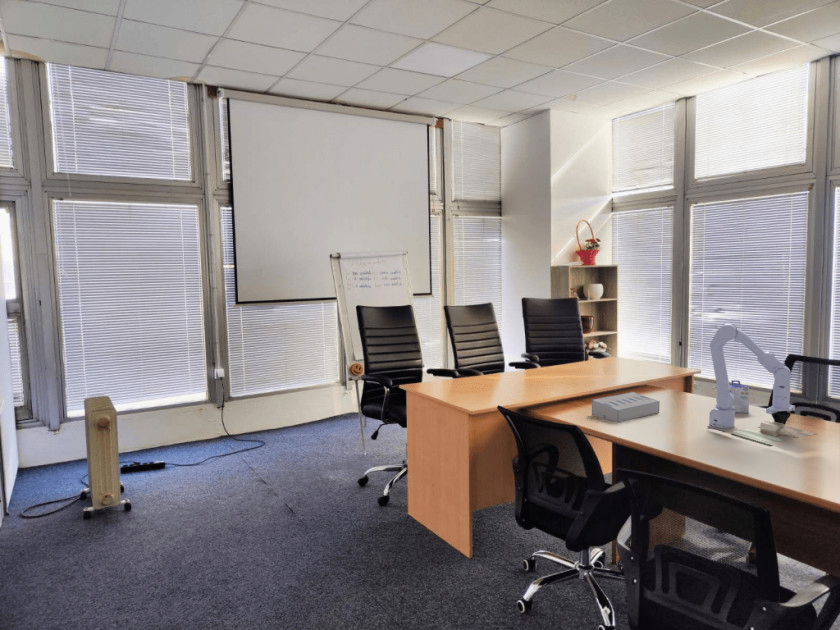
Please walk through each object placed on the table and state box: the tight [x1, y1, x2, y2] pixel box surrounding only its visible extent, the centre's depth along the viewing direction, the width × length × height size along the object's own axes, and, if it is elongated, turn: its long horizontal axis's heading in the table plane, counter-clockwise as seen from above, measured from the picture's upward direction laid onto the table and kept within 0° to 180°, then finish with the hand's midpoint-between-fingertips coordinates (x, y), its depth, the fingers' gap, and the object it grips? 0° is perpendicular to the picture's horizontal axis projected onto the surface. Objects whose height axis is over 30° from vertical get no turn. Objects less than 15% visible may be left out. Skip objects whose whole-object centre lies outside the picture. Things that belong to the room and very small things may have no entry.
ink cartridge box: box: [729, 379, 750, 414], centre depth 262 cm, size 10×6×14 cm, turn 78°
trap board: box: [731, 425, 818, 447], centre depth 223 cm, size 28×16×2 cm, turn 113°
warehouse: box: [591, 391, 660, 423], centre depth 259 cm, size 30×14×8 cm, turn 123°
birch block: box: [759, 420, 786, 437], centre depth 222 cm, size 6×6×4 cm
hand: (779, 429), depth 224 cm, fingers closed
